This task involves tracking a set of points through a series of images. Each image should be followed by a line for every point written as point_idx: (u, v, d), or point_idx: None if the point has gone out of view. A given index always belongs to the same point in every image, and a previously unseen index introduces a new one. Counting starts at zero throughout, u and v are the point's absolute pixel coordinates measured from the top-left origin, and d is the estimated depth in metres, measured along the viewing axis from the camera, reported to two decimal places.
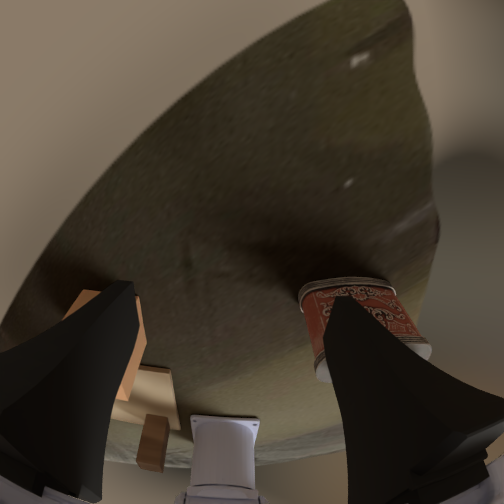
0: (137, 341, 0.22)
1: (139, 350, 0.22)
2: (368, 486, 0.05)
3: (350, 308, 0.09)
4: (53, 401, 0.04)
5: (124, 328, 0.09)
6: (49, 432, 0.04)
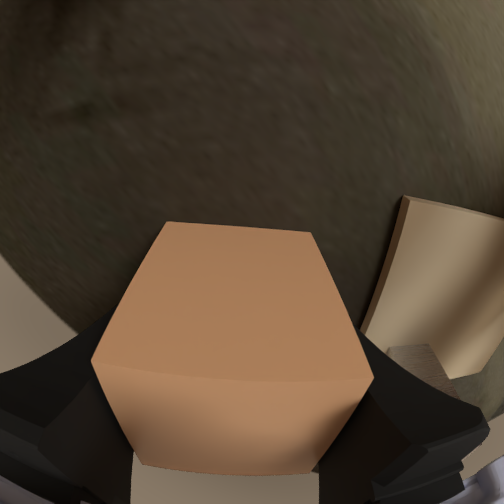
0: (255, 254, 0.09)
1: (290, 256, 0.09)
2: (335, 492, 0.05)
3: None
4: (90, 412, 0.04)
5: None
6: (87, 445, 0.04)
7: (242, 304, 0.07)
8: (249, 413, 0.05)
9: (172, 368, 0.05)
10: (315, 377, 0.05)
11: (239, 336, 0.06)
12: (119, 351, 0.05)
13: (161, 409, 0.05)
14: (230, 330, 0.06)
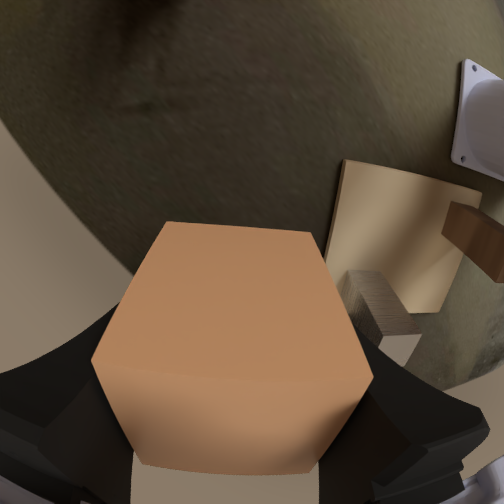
0: (254, 254, 0.09)
1: (290, 256, 0.09)
2: (335, 492, 0.05)
3: None
4: (90, 412, 0.04)
5: None
6: (87, 445, 0.04)
7: (242, 304, 0.07)
8: (249, 413, 0.05)
9: (172, 368, 0.05)
10: (315, 377, 0.05)
11: (239, 336, 0.06)
12: (119, 351, 0.05)
13: (161, 409, 0.05)
14: (230, 330, 0.06)
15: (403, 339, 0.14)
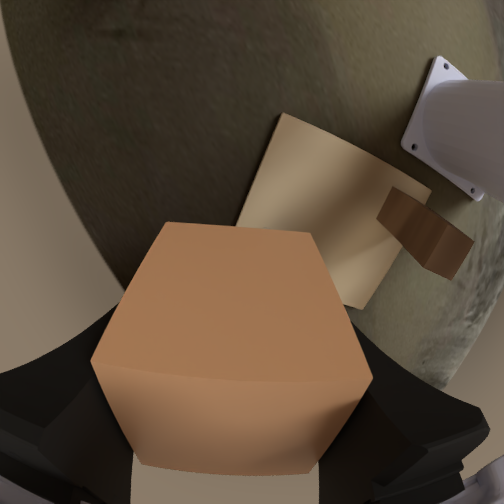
0: (254, 254, 0.09)
1: (290, 257, 0.09)
2: (335, 492, 0.05)
3: None
4: (90, 412, 0.04)
5: None
6: (87, 445, 0.04)
7: (241, 304, 0.07)
8: (248, 413, 0.05)
9: (171, 368, 0.05)
10: (314, 378, 0.05)
11: (238, 336, 0.06)
12: (119, 351, 0.05)
13: (160, 409, 0.05)
14: (229, 330, 0.06)
15: None
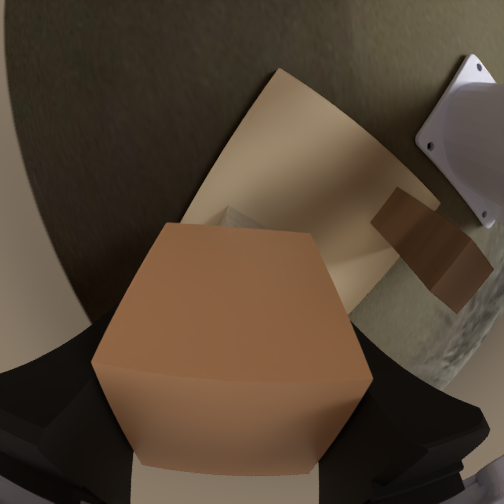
0: (254, 255, 0.09)
1: (290, 257, 0.09)
2: (335, 492, 0.05)
3: None
4: (90, 412, 0.04)
5: None
6: (87, 445, 0.04)
7: (242, 305, 0.07)
8: (249, 414, 0.05)
9: (172, 369, 0.05)
10: (314, 378, 0.05)
11: (239, 337, 0.06)
12: (119, 352, 0.05)
13: (161, 410, 0.05)
14: (230, 331, 0.06)
15: None
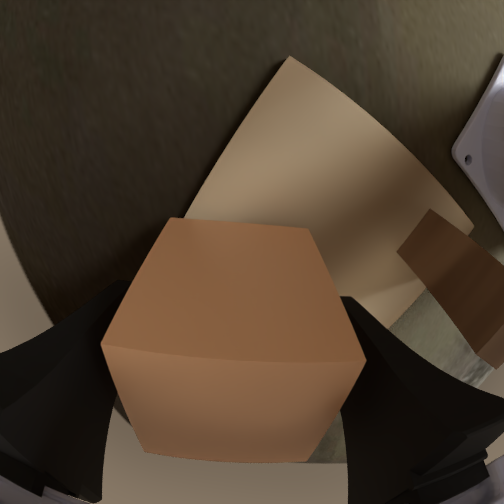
0: (254, 247, 0.09)
1: (288, 250, 0.09)
2: (368, 486, 0.05)
3: (350, 308, 0.09)
4: (53, 401, 0.04)
5: None
6: (49, 432, 0.04)
7: (243, 293, 0.07)
8: (249, 395, 0.06)
9: (178, 350, 0.05)
10: (311, 359, 0.05)
11: (240, 321, 0.06)
12: (127, 335, 0.05)
13: (166, 392, 0.06)
14: (232, 316, 0.06)
15: None
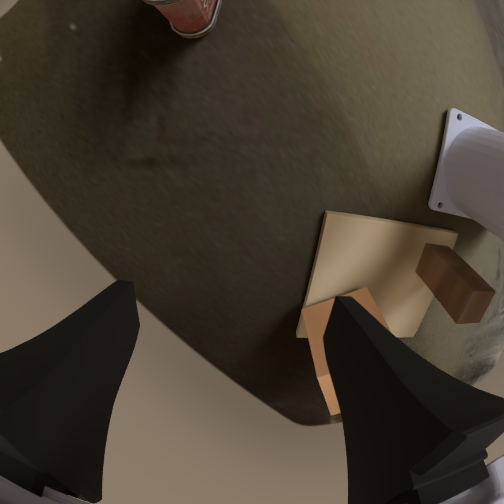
0: None
1: None
2: (368, 486, 0.05)
3: (350, 308, 0.09)
4: (53, 401, 0.04)
5: (124, 328, 0.09)
6: (49, 432, 0.04)
7: None
8: None
9: None
10: None
11: None
12: (323, 370, 0.16)
13: None
14: None
15: None
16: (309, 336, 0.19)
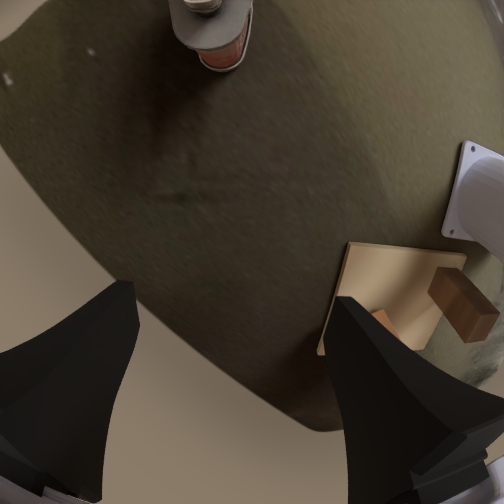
0: None
1: None
2: (368, 486, 0.05)
3: (350, 308, 0.09)
4: (53, 401, 0.04)
5: (124, 328, 0.09)
6: (49, 432, 0.04)
7: None
8: None
9: None
10: None
11: None
12: None
13: None
14: None
15: None
16: None
